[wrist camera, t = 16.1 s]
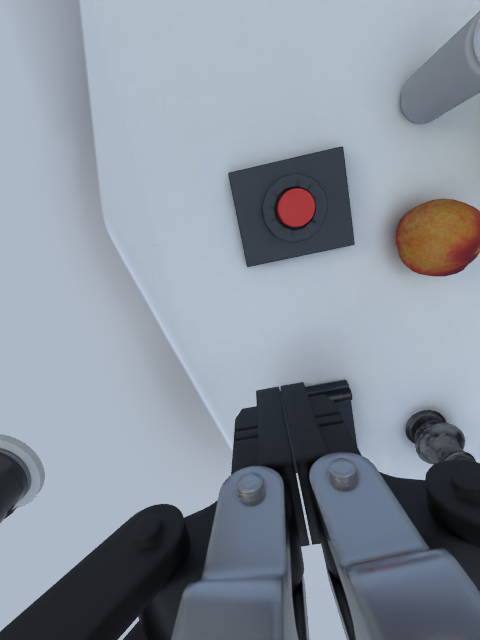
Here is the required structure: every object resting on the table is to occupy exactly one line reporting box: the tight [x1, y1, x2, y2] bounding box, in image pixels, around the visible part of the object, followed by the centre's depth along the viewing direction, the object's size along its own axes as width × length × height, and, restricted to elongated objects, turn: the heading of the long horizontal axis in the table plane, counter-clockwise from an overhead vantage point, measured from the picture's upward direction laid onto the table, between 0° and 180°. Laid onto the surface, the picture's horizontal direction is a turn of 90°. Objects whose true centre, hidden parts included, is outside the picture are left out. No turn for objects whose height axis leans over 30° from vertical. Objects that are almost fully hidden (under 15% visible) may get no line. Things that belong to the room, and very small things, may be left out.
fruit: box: [396, 199, 480, 276], centre depth 34 cm, size 8×8×8 cm
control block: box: [228, 146, 354, 267], centre depth 36 cm, size 12×10×4 cm
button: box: [277, 188, 315, 227], centre depth 33 cm, size 4×4×2 cm
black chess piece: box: [406, 410, 476, 465], centre depth 38 cm, size 6×6×12 cm
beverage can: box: [401, 11, 480, 124], centre depth 28 cm, size 5×5×12 cm
